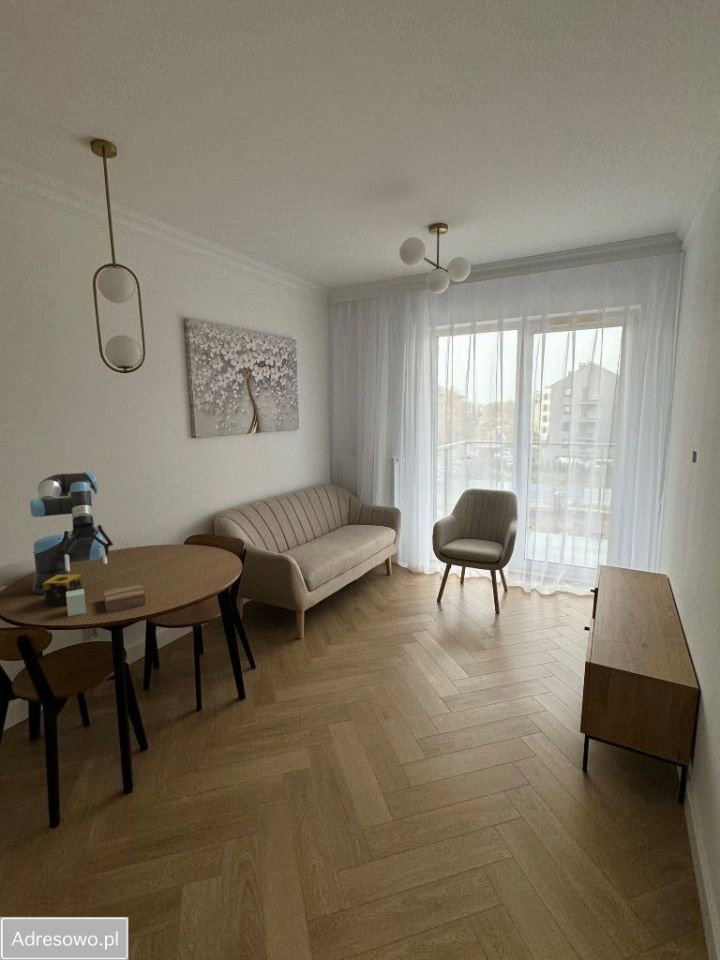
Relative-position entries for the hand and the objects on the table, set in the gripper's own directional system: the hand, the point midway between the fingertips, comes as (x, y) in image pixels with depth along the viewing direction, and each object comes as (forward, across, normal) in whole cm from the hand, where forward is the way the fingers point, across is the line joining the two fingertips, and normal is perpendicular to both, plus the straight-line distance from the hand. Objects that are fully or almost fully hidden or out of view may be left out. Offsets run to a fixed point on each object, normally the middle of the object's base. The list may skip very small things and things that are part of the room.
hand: (86, 567), depth 187 cm
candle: (+9, -13, +14) cm, 21 cm away
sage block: (+16, -6, +3) cm, 18 cm away
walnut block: (+17, +11, +8) cm, 21 cm away
